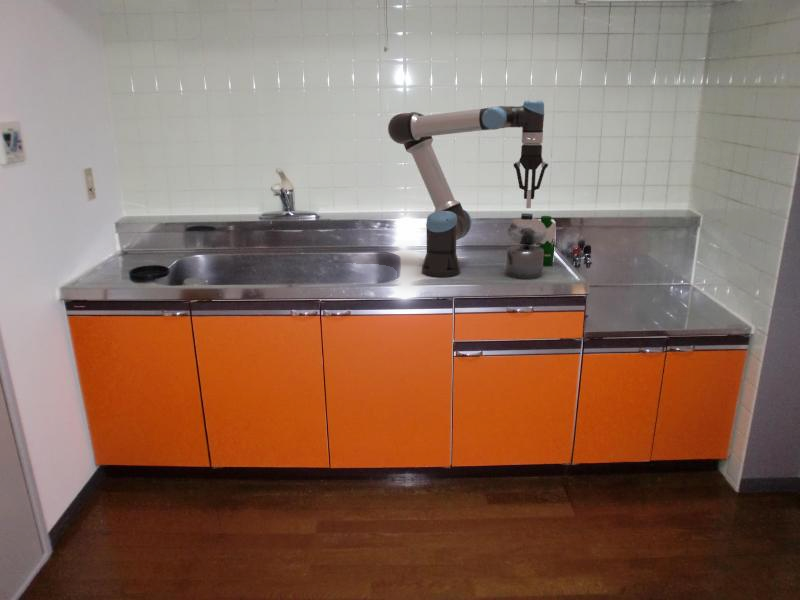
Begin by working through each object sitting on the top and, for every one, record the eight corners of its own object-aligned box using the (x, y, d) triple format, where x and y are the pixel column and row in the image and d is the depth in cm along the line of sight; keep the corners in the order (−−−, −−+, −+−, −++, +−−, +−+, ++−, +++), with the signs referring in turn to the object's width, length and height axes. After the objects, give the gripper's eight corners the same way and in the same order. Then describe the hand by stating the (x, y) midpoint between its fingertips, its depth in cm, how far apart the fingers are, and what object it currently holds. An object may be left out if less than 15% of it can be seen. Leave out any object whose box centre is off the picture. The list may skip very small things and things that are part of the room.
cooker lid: (507, 215, 233) (508, 209, 235) (508, 244, 246) (509, 239, 248) (546, 216, 230) (547, 211, 231) (545, 246, 242) (546, 240, 244)
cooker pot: (503, 277, 236) (504, 252, 233) (508, 267, 250) (509, 243, 247) (541, 280, 232) (542, 254, 229) (543, 269, 246) (545, 245, 243)
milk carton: (532, 265, 252) (535, 217, 246) (530, 260, 261) (533, 213, 255) (554, 266, 252) (558, 217, 245) (551, 260, 260) (554, 213, 254)
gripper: (513, 144, 226) (510, 208, 233) (549, 145, 223) (545, 209, 230) (515, 143, 233) (512, 205, 240) (550, 143, 230) (546, 206, 237)
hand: (528, 207), depth 235 cm, fingers closed
